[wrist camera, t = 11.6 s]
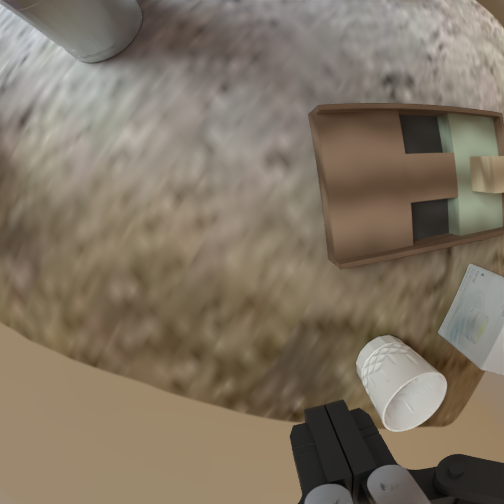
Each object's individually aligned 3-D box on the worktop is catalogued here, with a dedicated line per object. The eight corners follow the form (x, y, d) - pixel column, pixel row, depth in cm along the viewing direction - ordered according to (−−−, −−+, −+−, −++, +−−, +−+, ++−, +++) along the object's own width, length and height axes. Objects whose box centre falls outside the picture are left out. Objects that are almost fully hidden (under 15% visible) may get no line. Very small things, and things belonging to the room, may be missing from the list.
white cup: (347, 342, 34) (382, 391, 25) (405, 321, 34) (450, 360, 25) (353, 391, 36) (382, 441, 26) (406, 370, 36) (443, 413, 26)
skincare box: (467, 261, 34) (522, 284, 23) (491, 275, 34) (542, 298, 24) (434, 333, 35) (481, 371, 25) (461, 341, 36) (505, 376, 26)
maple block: (469, 156, 28) (491, 155, 24) (489, 156, 28) (511, 156, 24) (472, 191, 29) (494, 193, 25) (492, 189, 29) (514, 191, 25)
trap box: (308, 114, 29) (318, 104, 25) (482, 116, 29) (501, 113, 26) (328, 259, 32) (340, 269, 28) (492, 227, 33) (512, 232, 29)
